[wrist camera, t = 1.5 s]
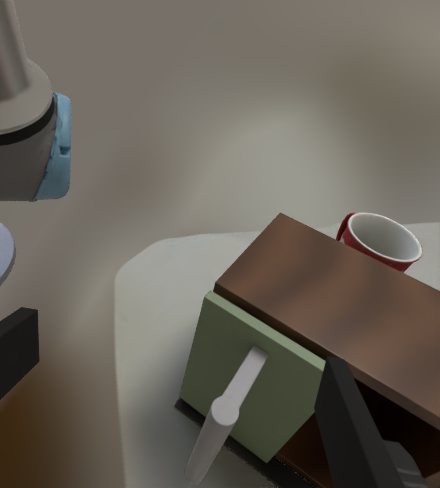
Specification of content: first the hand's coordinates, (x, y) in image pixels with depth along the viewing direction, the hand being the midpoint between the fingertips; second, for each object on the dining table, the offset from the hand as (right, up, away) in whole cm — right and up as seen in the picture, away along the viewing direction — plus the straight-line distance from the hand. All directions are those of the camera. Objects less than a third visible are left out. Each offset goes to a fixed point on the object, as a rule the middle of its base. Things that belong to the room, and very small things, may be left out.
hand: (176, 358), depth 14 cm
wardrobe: (+9, -12, +20) cm, 25 cm away
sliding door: (+1, -14, +14) cm, 20 cm away
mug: (+19, -3, +34) cm, 39 cm away
